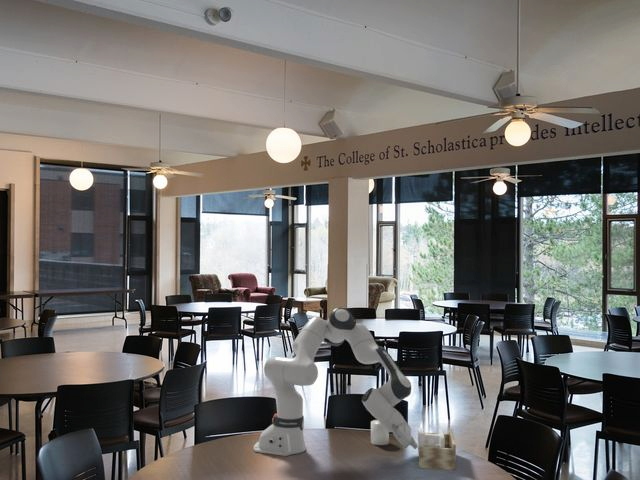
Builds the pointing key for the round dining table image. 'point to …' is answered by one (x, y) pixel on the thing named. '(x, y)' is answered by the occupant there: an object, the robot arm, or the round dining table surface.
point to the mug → (379, 434)
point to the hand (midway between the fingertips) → (416, 446)
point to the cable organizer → (431, 439)
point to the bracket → (439, 454)
